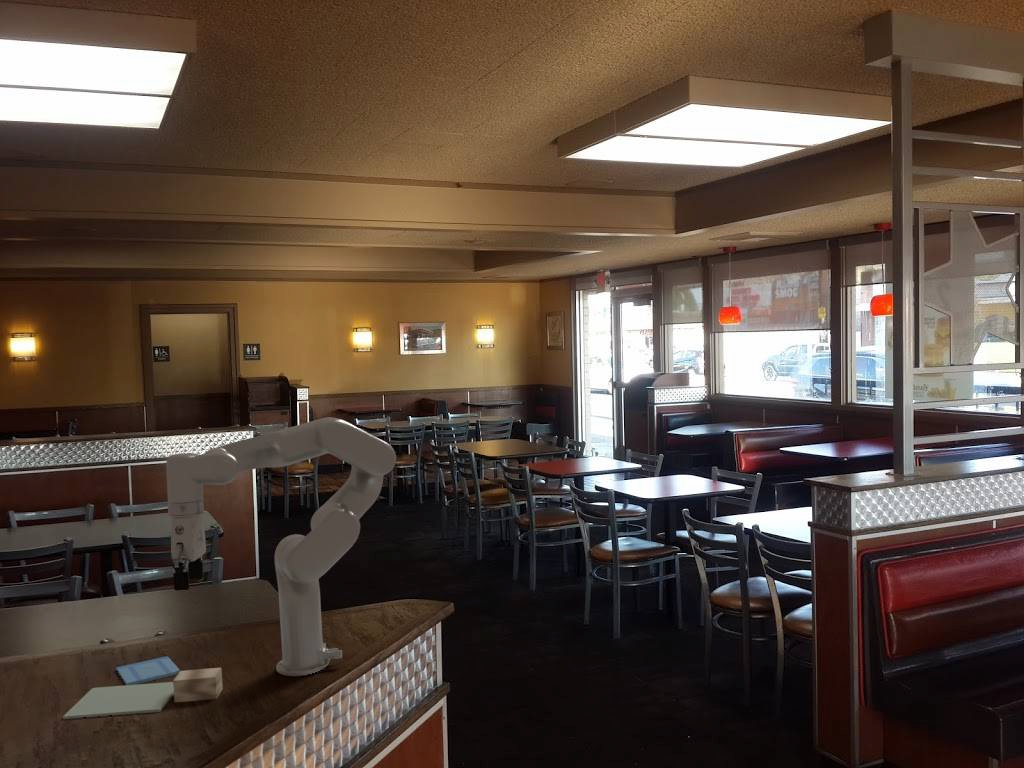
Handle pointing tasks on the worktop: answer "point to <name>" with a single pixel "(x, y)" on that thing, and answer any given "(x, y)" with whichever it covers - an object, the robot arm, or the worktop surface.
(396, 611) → the worktop surface
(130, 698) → the card mat
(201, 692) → the card box
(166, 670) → the waterproof phone case
